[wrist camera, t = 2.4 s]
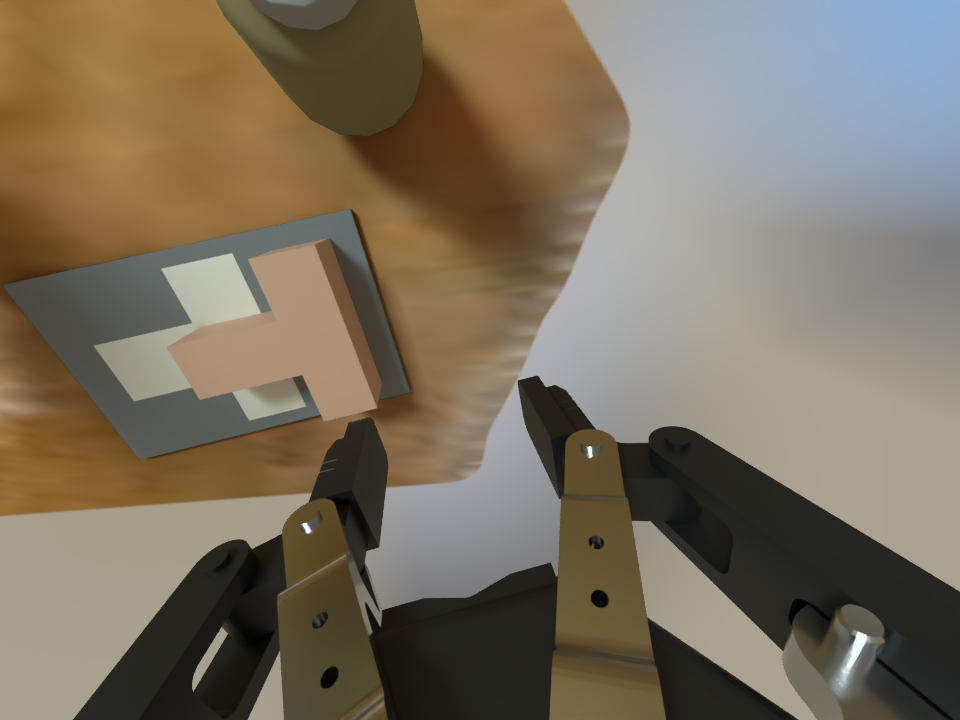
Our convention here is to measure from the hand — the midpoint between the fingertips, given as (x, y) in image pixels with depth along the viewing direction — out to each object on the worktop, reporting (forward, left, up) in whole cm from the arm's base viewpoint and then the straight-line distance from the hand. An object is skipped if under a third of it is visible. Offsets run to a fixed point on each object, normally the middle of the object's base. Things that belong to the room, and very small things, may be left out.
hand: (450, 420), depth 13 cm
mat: (0, -16, -17) cm, 23 cm away
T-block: (0, -12, -17) cm, 20 cm away
